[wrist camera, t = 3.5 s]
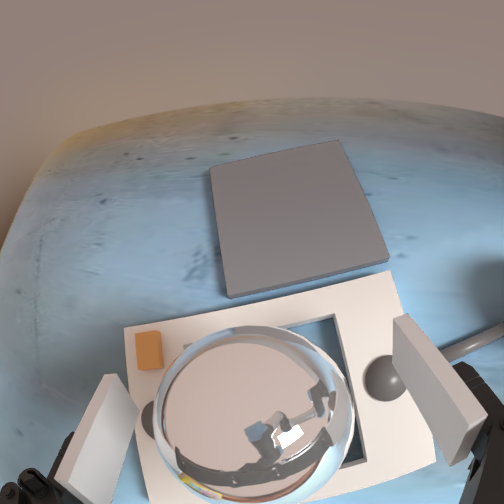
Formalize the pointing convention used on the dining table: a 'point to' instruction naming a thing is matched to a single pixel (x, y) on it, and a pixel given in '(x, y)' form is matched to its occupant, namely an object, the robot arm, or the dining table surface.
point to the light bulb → (253, 417)
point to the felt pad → (292, 219)
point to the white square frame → (356, 364)
